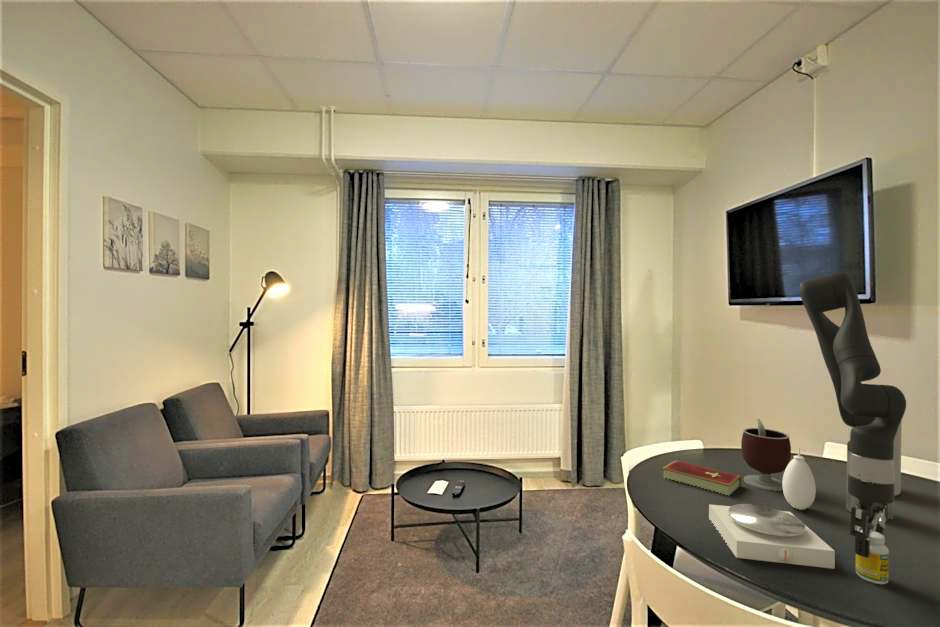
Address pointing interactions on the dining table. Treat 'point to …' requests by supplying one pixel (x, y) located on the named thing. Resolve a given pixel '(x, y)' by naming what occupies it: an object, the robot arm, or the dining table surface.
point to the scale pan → (767, 520)
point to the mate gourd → (765, 455)
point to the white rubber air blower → (799, 483)
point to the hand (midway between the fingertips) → (869, 550)
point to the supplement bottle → (874, 561)
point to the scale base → (771, 543)
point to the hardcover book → (702, 477)
